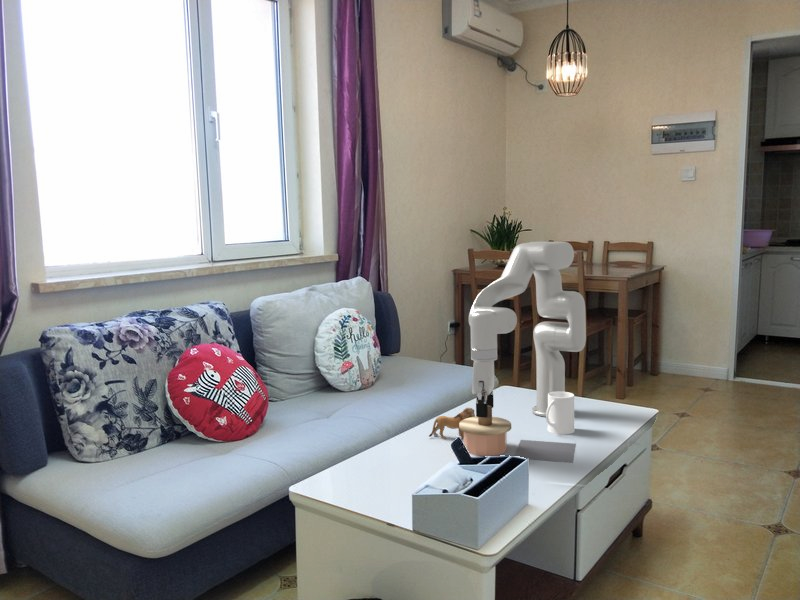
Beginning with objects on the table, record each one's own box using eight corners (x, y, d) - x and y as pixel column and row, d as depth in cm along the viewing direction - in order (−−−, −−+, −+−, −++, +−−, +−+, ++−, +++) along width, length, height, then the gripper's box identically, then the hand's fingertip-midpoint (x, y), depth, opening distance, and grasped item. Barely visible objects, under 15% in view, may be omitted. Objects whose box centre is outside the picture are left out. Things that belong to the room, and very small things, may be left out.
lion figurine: (473, 432, 213) (473, 405, 212) (477, 438, 207) (476, 409, 206) (427, 435, 211) (426, 407, 210) (430, 441, 206) (429, 412, 205)
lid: (465, 418, 205) (464, 398, 204) (514, 421, 200) (514, 401, 200) (454, 433, 191) (453, 412, 190) (507, 436, 186) (507, 415, 185)
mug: (555, 440, 203) (555, 401, 202) (534, 433, 210) (534, 396, 209) (580, 432, 211) (580, 394, 209) (559, 425, 217) (559, 389, 216)
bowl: (469, 442, 204) (468, 419, 203) (508, 445, 200) (508, 422, 199) (460, 455, 192) (460, 432, 191) (502, 459, 189) (502, 434, 188)
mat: (520, 441, 203) (520, 439, 203) (575, 445, 198) (575, 443, 198) (513, 460, 188) (513, 457, 188) (572, 464, 183) (572, 462, 183)
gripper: (476, 347, 202) (477, 403, 204) (465, 359, 186) (466, 420, 188) (501, 348, 200) (502, 404, 202) (492, 360, 184) (492, 421, 186)
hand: (485, 412), depth 195 cm, fingers open, 9 cm apart
